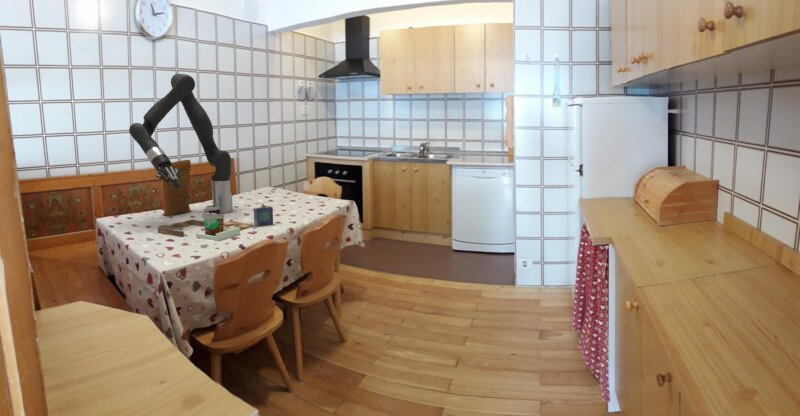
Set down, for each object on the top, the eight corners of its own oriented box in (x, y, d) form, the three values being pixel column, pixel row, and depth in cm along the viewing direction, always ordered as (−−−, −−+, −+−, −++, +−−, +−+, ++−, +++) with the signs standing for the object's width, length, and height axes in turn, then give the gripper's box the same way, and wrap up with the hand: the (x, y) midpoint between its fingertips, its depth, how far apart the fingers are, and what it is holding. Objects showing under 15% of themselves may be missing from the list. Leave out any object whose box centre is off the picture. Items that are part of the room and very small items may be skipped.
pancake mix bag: (197, 211, 279) (194, 159, 273) (167, 217, 263) (163, 163, 257) (189, 209, 282) (185, 158, 277) (158, 216, 266) (154, 162, 260)
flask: (254, 226, 248) (254, 204, 245) (253, 225, 250) (252, 203, 248) (273, 224, 252) (273, 203, 250) (272, 223, 255) (271, 202, 252)
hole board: (232, 222, 254) (232, 220, 254) (253, 226, 248) (253, 224, 248) (210, 228, 242) (210, 226, 242) (232, 232, 236) (232, 230, 236)
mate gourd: (202, 222, 253) (200, 192, 250) (213, 219, 261) (212, 190, 258) (214, 224, 251) (213, 194, 248) (225, 220, 258) (224, 191, 255)
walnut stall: (192, 223, 251) (192, 219, 251) (215, 227, 244) (215, 223, 244) (158, 232, 234) (157, 227, 234) (181, 236, 227) (181, 232, 227)
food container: (196, 233, 233) (195, 212, 231) (208, 231, 238) (207, 209, 236) (213, 238, 226) (212, 216, 224) (225, 235, 231) (224, 213, 229)
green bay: (218, 230, 239) (218, 224, 238) (240, 234, 233) (239, 227, 233) (196, 236, 228) (195, 230, 227) (218, 240, 222) (217, 234, 221)
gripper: (149, 154, 232) (170, 183, 229) (174, 152, 244) (194, 180, 241) (142, 165, 236) (163, 194, 233) (167, 162, 247) (187, 190, 244)
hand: (178, 187), depth 237 cm, fingers closed
